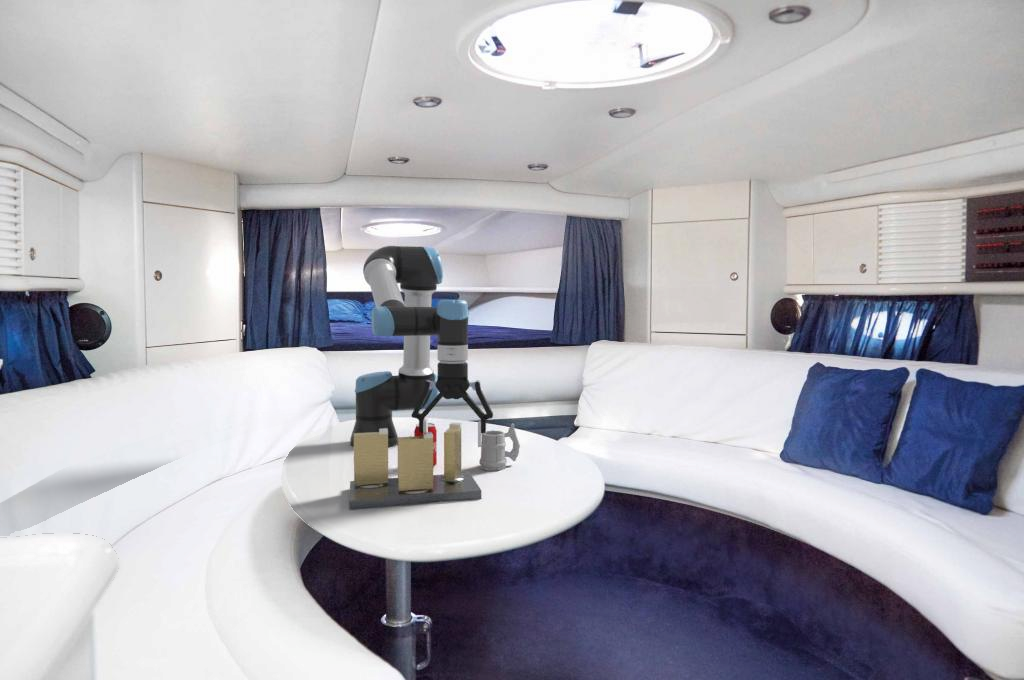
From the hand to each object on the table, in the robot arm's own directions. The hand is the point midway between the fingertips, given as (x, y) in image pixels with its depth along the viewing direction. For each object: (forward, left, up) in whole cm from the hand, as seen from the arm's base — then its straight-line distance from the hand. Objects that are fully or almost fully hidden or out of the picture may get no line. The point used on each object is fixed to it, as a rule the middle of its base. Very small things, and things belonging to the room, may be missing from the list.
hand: (452, 445), depth 145 cm
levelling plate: (+4, -10, -10) cm, 15 cm away
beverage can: (-19, -5, -10) cm, 22 cm away
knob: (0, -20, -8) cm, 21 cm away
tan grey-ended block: (+7, -10, -8) cm, 15 cm away
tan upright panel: (0, 0, -8) cm, 8 cm away
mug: (-14, +16, -10) cm, 24 cm away
